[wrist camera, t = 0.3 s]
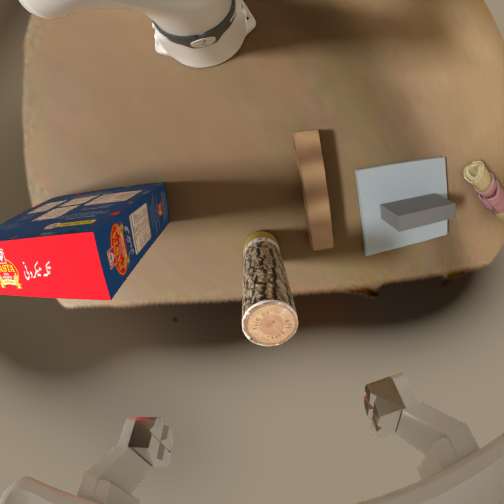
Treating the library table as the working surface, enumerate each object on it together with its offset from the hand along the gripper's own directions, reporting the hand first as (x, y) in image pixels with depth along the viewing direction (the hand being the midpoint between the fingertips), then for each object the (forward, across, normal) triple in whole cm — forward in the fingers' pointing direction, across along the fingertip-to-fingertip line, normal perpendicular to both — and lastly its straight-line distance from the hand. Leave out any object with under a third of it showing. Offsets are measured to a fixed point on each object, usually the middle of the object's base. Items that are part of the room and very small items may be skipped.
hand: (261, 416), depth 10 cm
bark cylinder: (+46, +1, +12) cm, 48 cm away
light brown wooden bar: (+46, -11, +3) cm, 48 cm away
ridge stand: (+46, -31, +10) cm, 57 cm away
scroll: (+46, -56, +11) cm, 74 cm away
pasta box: (+46, +30, -4) cm, 55 cm away
